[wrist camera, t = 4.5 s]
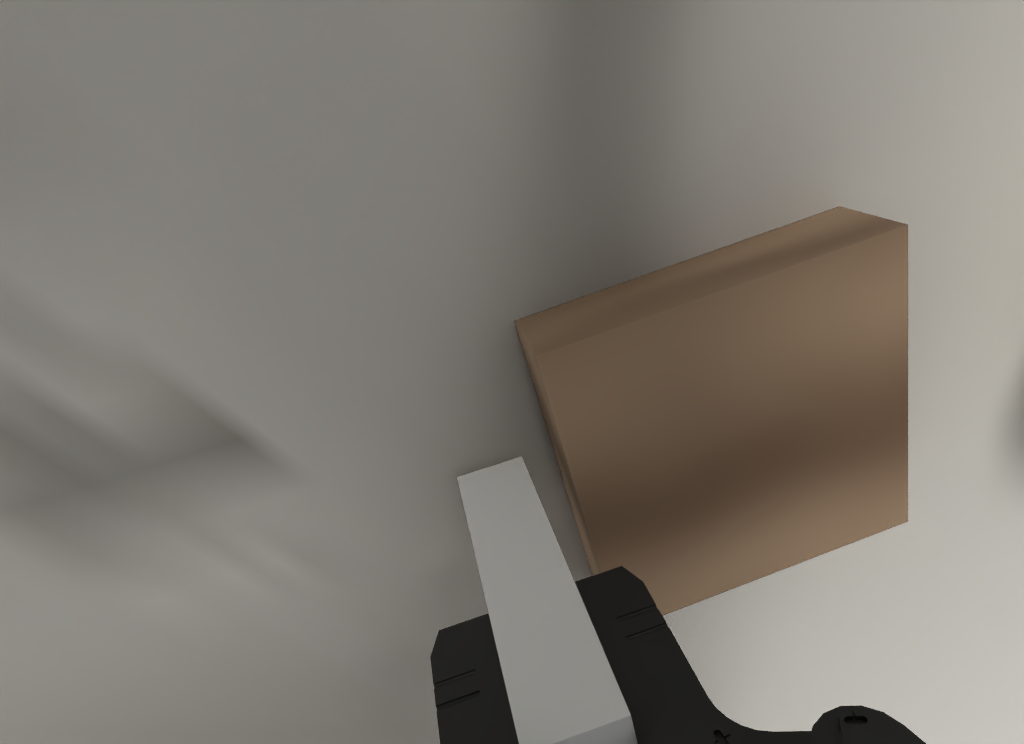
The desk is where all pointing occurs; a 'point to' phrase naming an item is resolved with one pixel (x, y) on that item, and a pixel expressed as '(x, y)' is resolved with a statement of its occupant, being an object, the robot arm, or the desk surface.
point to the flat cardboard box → (734, 405)
